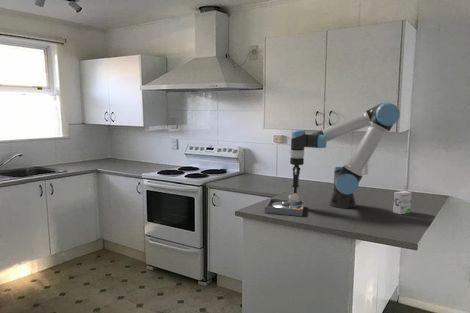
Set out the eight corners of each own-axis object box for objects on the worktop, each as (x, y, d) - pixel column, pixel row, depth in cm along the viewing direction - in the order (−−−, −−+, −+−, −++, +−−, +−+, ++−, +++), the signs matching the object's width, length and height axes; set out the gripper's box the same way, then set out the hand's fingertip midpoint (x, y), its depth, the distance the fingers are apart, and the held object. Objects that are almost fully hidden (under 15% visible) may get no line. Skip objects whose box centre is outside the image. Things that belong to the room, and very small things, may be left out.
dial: (279, 211, 199) (280, 199, 198) (267, 204, 213) (267, 192, 212) (304, 209, 205) (305, 197, 204) (290, 202, 219) (291, 191, 218)
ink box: (403, 210, 213) (404, 190, 212) (410, 212, 209) (412, 192, 207) (392, 212, 209) (394, 191, 208) (399, 214, 205) (401, 193, 203)
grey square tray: (304, 206, 217) (304, 200, 216) (301, 216, 197) (302, 209, 197) (269, 203, 221) (270, 197, 221) (264, 212, 202) (264, 206, 201)
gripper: (291, 155, 218) (289, 195, 221) (289, 158, 205) (287, 200, 209) (304, 156, 216) (302, 196, 219) (303, 159, 204) (300, 201, 207)
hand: (295, 198), depth 214 cm, fingers closed
